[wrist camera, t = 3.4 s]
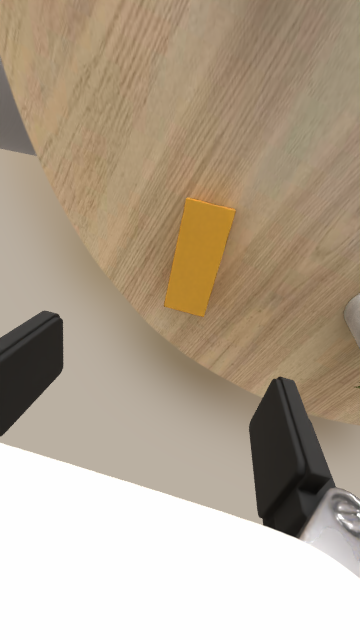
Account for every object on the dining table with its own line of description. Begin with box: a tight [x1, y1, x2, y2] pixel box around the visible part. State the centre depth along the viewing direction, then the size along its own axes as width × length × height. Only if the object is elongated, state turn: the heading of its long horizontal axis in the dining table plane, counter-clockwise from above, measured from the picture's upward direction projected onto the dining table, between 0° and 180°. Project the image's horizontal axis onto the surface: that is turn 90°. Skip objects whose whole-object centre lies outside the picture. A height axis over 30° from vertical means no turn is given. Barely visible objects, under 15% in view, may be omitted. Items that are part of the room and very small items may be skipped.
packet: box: [164, 198, 236, 317], centre depth 28 cm, size 12×5×3 cm, turn 167°
